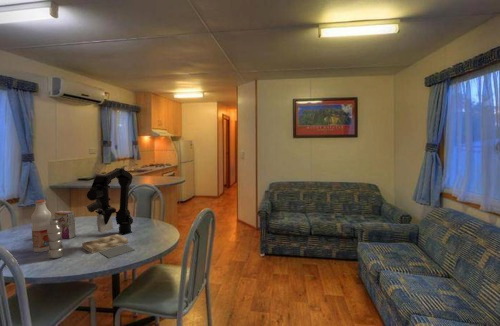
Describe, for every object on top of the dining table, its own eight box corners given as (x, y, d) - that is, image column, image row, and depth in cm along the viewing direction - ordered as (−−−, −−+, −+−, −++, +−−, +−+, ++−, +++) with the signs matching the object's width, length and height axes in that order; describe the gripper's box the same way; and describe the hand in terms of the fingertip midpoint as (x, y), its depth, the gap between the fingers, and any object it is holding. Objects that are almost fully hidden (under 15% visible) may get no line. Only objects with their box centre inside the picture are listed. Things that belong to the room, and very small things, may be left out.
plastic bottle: (53, 255, 149) (50, 218, 148) (66, 254, 150) (64, 218, 148) (45, 260, 143) (42, 221, 141) (59, 259, 143) (57, 221, 142)
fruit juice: (38, 247, 161) (35, 199, 159) (56, 245, 163) (53, 198, 161) (29, 253, 152) (26, 202, 150) (49, 251, 154) (45, 201, 152)
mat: (124, 245, 163) (124, 244, 163) (134, 250, 155) (134, 249, 155) (99, 252, 152) (99, 251, 152) (108, 258, 144) (108, 257, 144)
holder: (117, 237, 175) (117, 234, 175) (128, 242, 166) (127, 238, 166) (82, 247, 160) (82, 243, 160) (91, 253, 151) (91, 248, 151)
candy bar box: (55, 237, 177) (53, 212, 176) (62, 235, 182) (61, 210, 181) (68, 239, 174) (67, 213, 173) (76, 236, 179) (74, 211, 178)
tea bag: (112, 228, 164) (110, 212, 163) (100, 232, 159) (98, 215, 158) (110, 227, 166) (108, 211, 165) (98, 231, 161) (95, 214, 160)
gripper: (81, 197, 161) (83, 223, 162) (94, 201, 149) (96, 230, 150) (102, 194, 169) (103, 219, 170) (115, 198, 157) (117, 225, 158)
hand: (104, 223), depth 162 cm, fingers closed on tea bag, 4 cm apart
